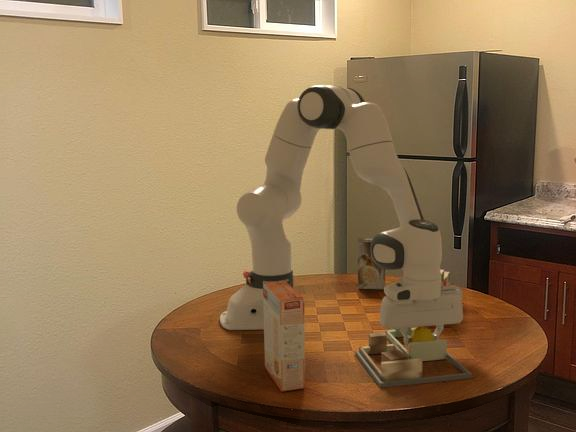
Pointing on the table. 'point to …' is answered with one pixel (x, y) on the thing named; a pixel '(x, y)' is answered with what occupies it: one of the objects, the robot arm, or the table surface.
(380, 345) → the frame
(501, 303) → the table surface
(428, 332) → the fruit
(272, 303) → the cracker box
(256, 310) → the robot arm
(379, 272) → the coffee box
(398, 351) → the walnut cube
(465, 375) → the lane guides
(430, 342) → the frame
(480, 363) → the table surface
